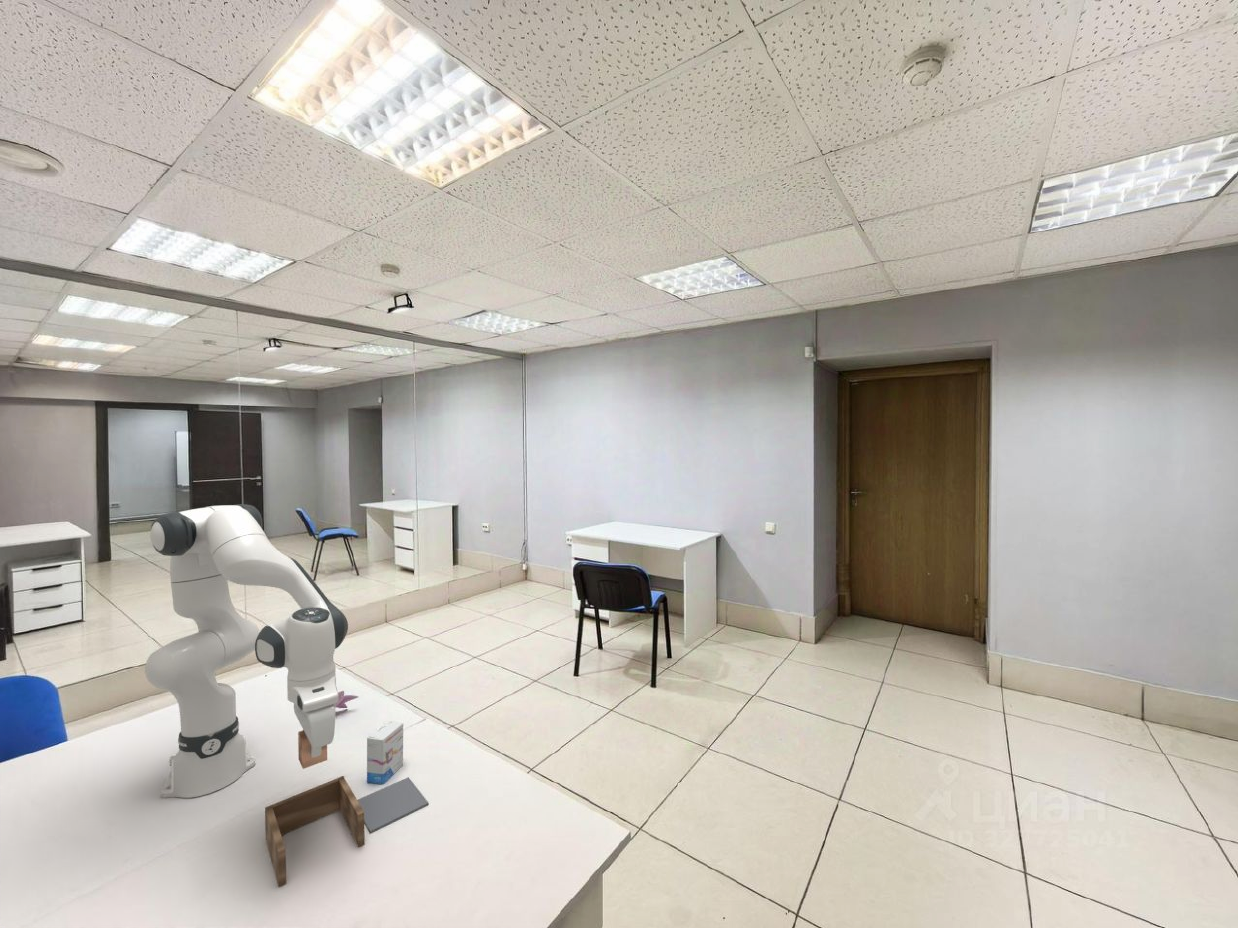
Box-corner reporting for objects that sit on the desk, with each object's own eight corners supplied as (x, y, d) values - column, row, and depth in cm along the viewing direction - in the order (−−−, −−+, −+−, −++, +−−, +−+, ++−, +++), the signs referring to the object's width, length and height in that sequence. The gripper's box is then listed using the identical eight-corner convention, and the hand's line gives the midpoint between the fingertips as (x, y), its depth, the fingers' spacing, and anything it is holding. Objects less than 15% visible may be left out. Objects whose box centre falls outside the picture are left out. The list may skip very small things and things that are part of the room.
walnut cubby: (265, 838, 108) (264, 807, 108) (343, 804, 119) (343, 775, 118) (278, 886, 96) (278, 851, 96) (364, 843, 106) (364, 811, 106)
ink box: (383, 785, 125) (382, 739, 125) (366, 782, 126) (365, 737, 126) (404, 764, 134) (403, 721, 134) (388, 762, 135) (387, 719, 135)
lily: (363, 715, 161) (362, 684, 165) (337, 719, 151) (336, 685, 155) (330, 725, 162) (330, 694, 166) (302, 729, 152) (302, 696, 156)
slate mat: (353, 803, 119) (353, 801, 119) (408, 778, 128) (408, 776, 128) (370, 833, 109) (370, 831, 109) (428, 804, 118) (428, 802, 118)
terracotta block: (298, 759, 107) (298, 731, 107) (322, 750, 110) (322, 724, 110) (302, 768, 103) (302, 740, 103) (327, 759, 107) (327, 732, 106)
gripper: (285, 673, 112) (286, 734, 112) (305, 708, 97) (305, 777, 97) (317, 665, 116) (318, 723, 116) (340, 697, 101) (341, 764, 101)
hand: (312, 748), depth 107 cm, fingers closed on terracotta block, 4 cm apart
